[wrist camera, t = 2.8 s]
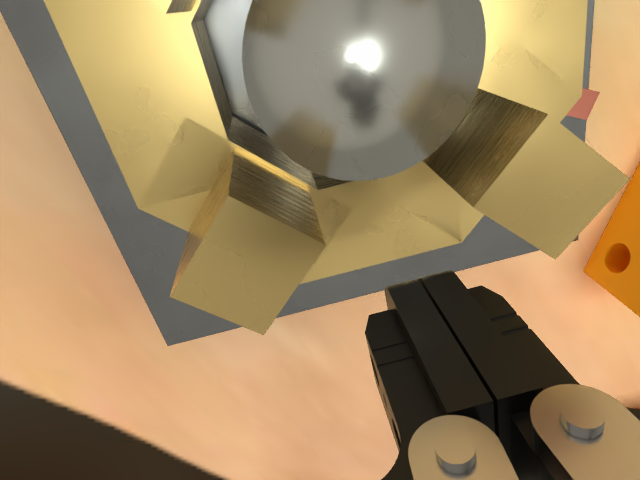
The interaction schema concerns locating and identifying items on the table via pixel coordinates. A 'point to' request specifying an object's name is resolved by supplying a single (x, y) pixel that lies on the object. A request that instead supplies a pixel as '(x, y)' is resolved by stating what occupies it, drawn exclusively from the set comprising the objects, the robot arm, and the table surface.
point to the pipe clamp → (621, 250)
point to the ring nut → (320, 191)
